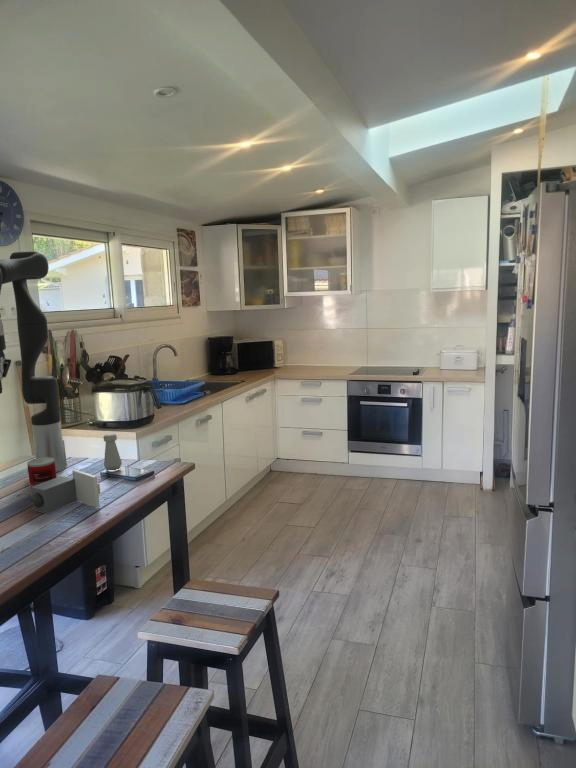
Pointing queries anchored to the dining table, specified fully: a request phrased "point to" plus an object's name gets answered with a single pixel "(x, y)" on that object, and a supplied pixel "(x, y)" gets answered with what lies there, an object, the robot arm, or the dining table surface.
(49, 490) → the block
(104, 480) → the dining table surface
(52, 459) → the canned food
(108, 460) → the salt shaker
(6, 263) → the robot arm
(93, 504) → the side door
